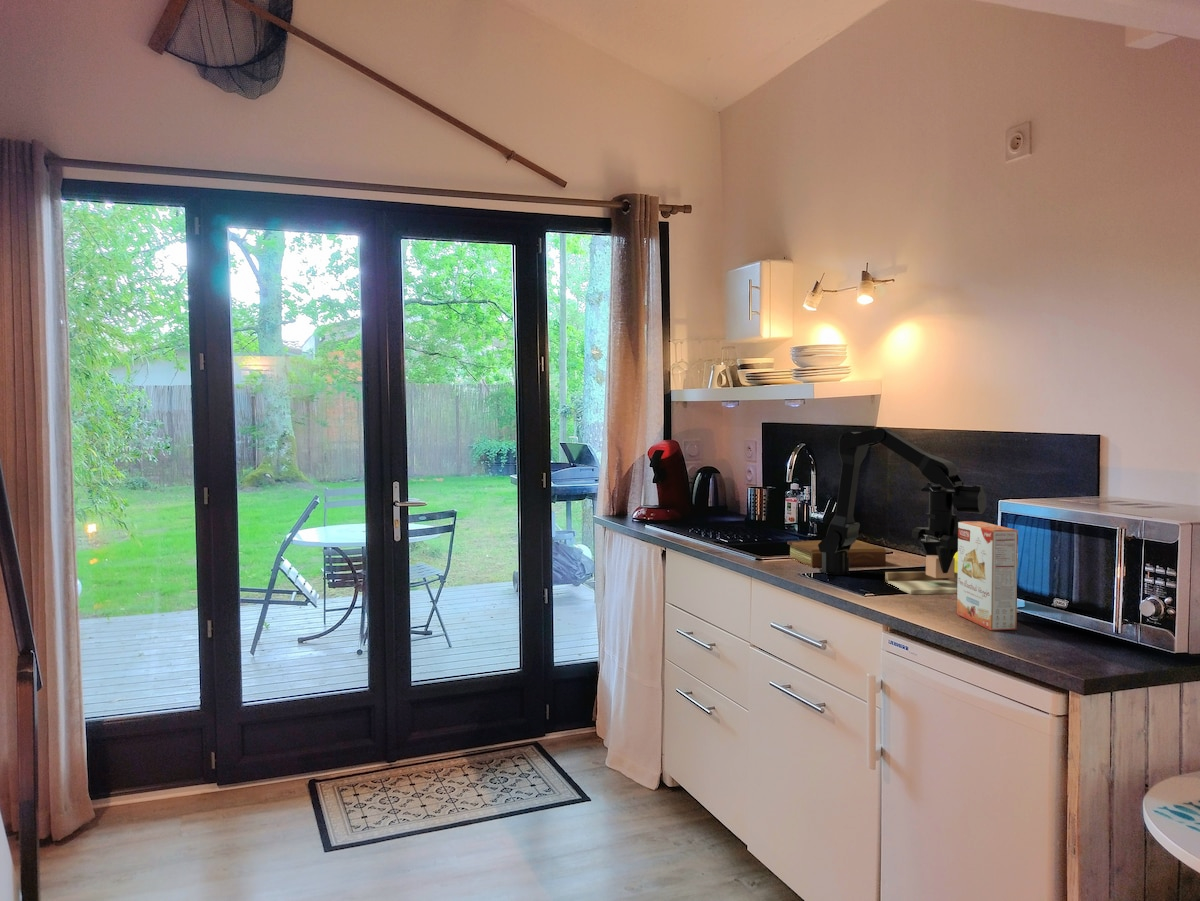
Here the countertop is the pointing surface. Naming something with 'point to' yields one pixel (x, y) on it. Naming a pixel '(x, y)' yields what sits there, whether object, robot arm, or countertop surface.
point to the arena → (921, 582)
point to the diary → (857, 554)
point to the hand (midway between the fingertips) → (939, 571)
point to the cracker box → (987, 575)
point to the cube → (938, 567)
